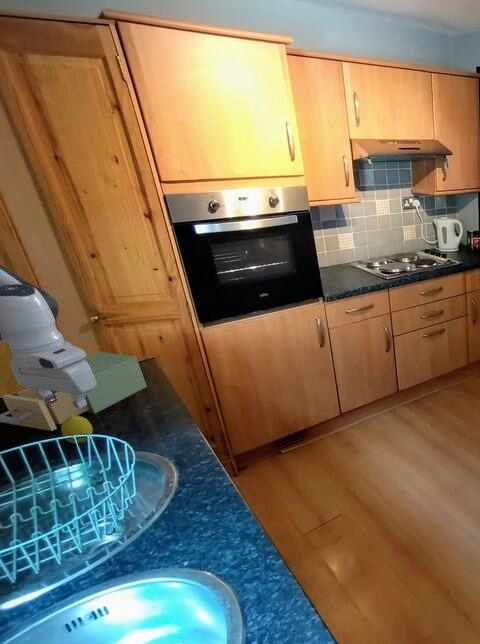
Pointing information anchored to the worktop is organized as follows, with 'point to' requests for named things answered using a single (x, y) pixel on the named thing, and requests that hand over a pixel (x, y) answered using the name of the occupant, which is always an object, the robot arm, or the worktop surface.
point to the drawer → (39, 409)
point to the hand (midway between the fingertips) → (66, 404)
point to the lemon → (76, 428)
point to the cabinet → (113, 379)
